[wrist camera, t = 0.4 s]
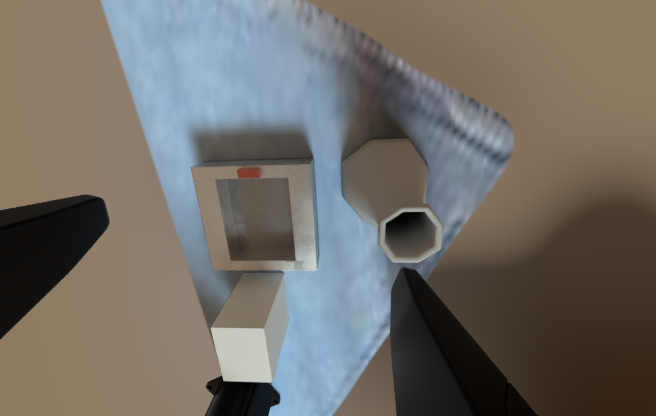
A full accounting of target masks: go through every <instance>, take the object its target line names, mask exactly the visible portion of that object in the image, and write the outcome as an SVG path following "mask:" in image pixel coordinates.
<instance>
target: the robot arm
mask: <svg viewBox="0 0 656 416" xmlns="http://www.w3.org/2000/svg"><path fill="white" fill-rule="evenodd" d="M108 225H109V216H108V213H107V209H106V205H105V202H104V200H103V199H102V198H100V197H96V196H92V195H80V196H75V197H69V198H64V199H59V200H53V201H48V202H42V203H37V204H32V205H26V206H21V207H16V208H10V209H5V210H0V339H1V338H2V337H3V336H4V335H5V334H6V333H8V332H9V331H10V330H11V329H12V327H14V326H15V325H16V324H17V323H18V322H19V321H20V320H21V319H22V318H23V317H24V316H25V315H26V314H27V313H28V312H29V311H30V310H31V309H32V308H33V307H34V306H35V305H36V304H37V303H38V302H39V301H40V300H41V299H42V298H44V296H46V294H48V293H49V292H50V291H51V290H52V289H53V288H54V287H55V286H56V285H57V284H58V283H59V282H60V281H61V280H62V279H63V278H64V277H65V276H66V275H67V274H68V273H69V272H70V271H71V270H72V269H73V268H74V267H75V266H76V264H77V263H78V262H79V261H80V260H81V259H82V257H83V256H84V255H85V254H86V253H87V252H88V250H89V249H90V248H91V247H92V246H93V245H94V243H95V242H96V241H97V240H98V239H99V238H100V236H101V235H102V234H103V233H104V232H105V231H106V229H107V228H108ZM390 347H391V359H392V370H393V380H394V392H395V402H396V413H397V416H539V415H538V414H537V413H536V412H535V410H534V409H533V408H532V407H531V406H530V405H529V404H528V403H527V401H526V400H525V399H524V398H523V397H522V395H521V394H520V393H519V392H518V391H517V389H516V388H515V387H514V386H513V385H512V383H510V382H508V380H507V378H506V377H505V375H504V374H503V373H502V372H501V371H500V369H499V368H498V367H497V366H496V365H495V363H494V362H493V361H492V360H491V359H490V358H489V356H488V355H487V354H486V353H485V352H484V350H483V349H482V348H481V347H480V346H479V344H478V343H477V342H476V341H475V340H474V339H473V337H472V336H471V335H470V334H469V333H468V331H467V330H466V329H465V328H464V327H463V325H462V324H461V323H460V322H459V321H458V319H457V318H456V317H455V316H454V315H453V313H451V311H450V310H449V309H448V308H447V306H446V305H445V304H444V303H443V302H442V300H441V299H440V298H439V297H438V296H437V294H436V293H435V292H434V291H433V290H432V288H431V287H430V286H429V285H428V284H427V283H426V281H425V280H424V279H423V278H422V277H421V275H420V274H419V273H418V272H417V271H416V270H414V269H410V268H405V267H403V268H401V269H400V271H399V273H398V275H397V277H396V280H395V282H394V284H393V286H392V290H391V320H390ZM206 388H207V389H208V390H209V391H210V392H211V393H212V394H213V395H214V397H213V399H212V401H211V403H210V406H209V408H208V410H207V412H206V414H205V416H268V414H269V410H270V407H272V406H275V405H277V404H279V403H280V397H279V396H278V395H277V393H276V392H275V391H274V390H273V389H272V388H271V387H270V386H269V385H268V384H267V383H266V382H236V381H223V377H222V376H220V377H218V378H216V379H214V380H211V381H209V382H208V383H207V385H206Z"/></svg>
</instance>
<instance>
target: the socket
mask: <svg viewBox="0 0 656 416" xmlns="http://www.w3.org/2000/svg"><path fill="white" fill-rule="evenodd" d="M191 172H192V176H193V181H194V185H195V190H196V195H197V199H198V204H199V208H200V213H201V217H202V222H203V226H204V231H205V235H206V240H207V245H208V249H209V254H210V258H211V263H212V267H213V270H317V267H318V261H319V255H320V254H319V237H318V220H317V203H316V185H315V168H314V158H293V159H258V160H223V161H205V162H203V163H200V164H198V165H195V166H193V167H191Z"/></svg>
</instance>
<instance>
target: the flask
mask: <svg viewBox="0 0 656 416" xmlns="http://www.w3.org/2000/svg"><path fill="white" fill-rule="evenodd" d="M428 169H429V167H428V166H427V164H426V163H425V161H424V160H423V158H422V157H421V156H420V154H419V153H418V151H417V150H416V148H415V147H414V145H413V144H412V143H411V141H410V140H409V138H402V139H371V140H369V141H368V142H367V143H366V144H364V145H363V146H362V147H360V148H359V149H358V150H357V151H355V152H354V153H353V154H351V155H350V156H349V157H348V158H346V159H345V160H344V161H342V196H343V198H344V199H345V200H346V201H347V202H348V204H349V205H350V206H351V207H352V209H353V210H354V211H355V212H356V214H357V215H358V216H359V217H360V218H361V220H362V221H364V222H366V223H369V224H371V225H374V226H376V227H377V228H378V245H379V246H380V247H381V249H382V250H383V251H384V252H385V253H386V255H387V256H388V257H389V258H390V260H391V261H392V262H393V263H419V262H420V261H422V260H424V259H425V258H427V257H429V256H430V255H432V254H434V253H435V252H437V251H439V250H440V249H441V243H442V235H443V228H444V226H443V224H442V223H441V221H440V220H439V218H438V217H437V216H436V214H435V213H434V211H433V210H432V209H431V207H430V206H429V205H428V204H426V203H425V199H426V189H427V179H428Z"/></svg>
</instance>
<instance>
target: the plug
mask: <svg viewBox="0 0 656 416" xmlns="http://www.w3.org/2000/svg"><path fill="white" fill-rule="evenodd" d="M288 322H289V310H288V301H287V293H286V284H285V275H284V273H243V275H242V277H241V278H240V280H239V282H238V283H237V285H236V287H235V288H234V290H233V292H232V293H231V295H230V296H229V298H228V300H227V301H226V303H225V305H224V306H223V308H222V310H221V311H220V313H219V315H218V316H217V318H216V319H215V321H214V323H213V324H212V326H211V332H212V336H213V340H214V344H215V348H216V352H217V356H218V360H219V365H220V369H221V373H222V377H223V381H236V382H268V383H272V382H273V378H274V375H275V371H276V367H277V363H278V360H279V356H280V352H281V348H282V344H283V341H284V337H285V333H286V329H287V326H288Z"/></svg>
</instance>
